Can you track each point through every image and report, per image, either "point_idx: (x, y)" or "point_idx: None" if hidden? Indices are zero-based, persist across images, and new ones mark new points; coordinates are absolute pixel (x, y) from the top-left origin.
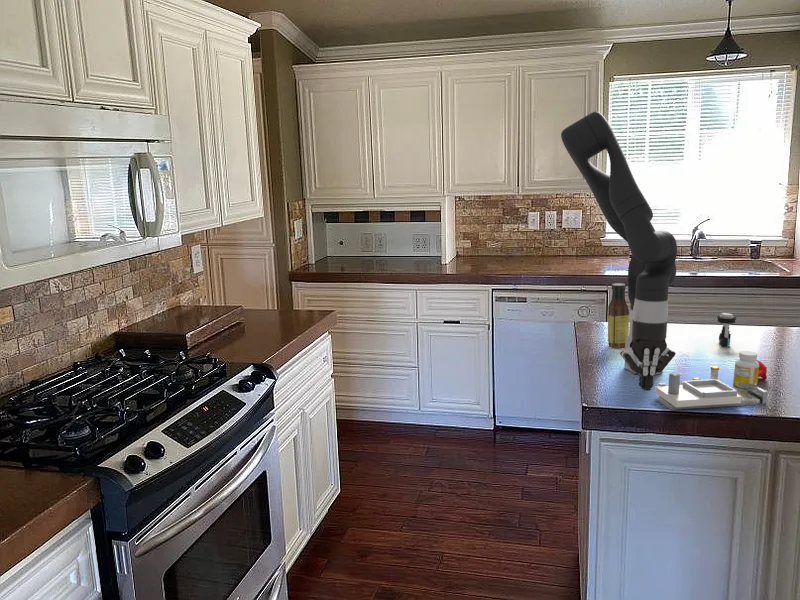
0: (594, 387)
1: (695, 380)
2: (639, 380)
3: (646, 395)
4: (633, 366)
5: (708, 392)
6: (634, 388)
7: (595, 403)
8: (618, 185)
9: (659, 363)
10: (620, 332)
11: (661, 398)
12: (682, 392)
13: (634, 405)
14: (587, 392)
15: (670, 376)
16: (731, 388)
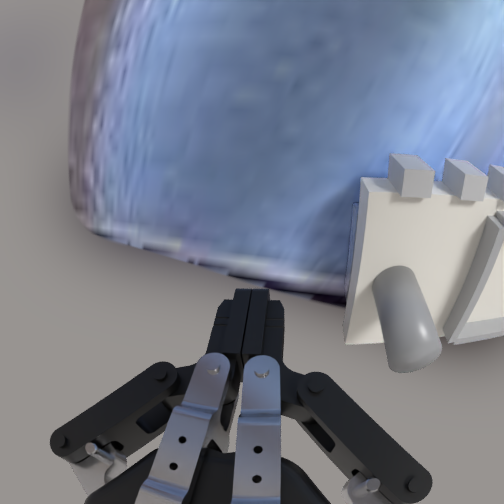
0: (113, 11)
1: None
2: (214, 330)
3: (335, 124)
4: (145, 422)
5: (465, 341)
6: (316, 15)
7: (92, 202)
8: None
9: (339, 418)
10: None
11: (354, 236)
12: (429, 284)
13: (226, 234)
14: (75, 82)
15: (387, 357)
16: None
